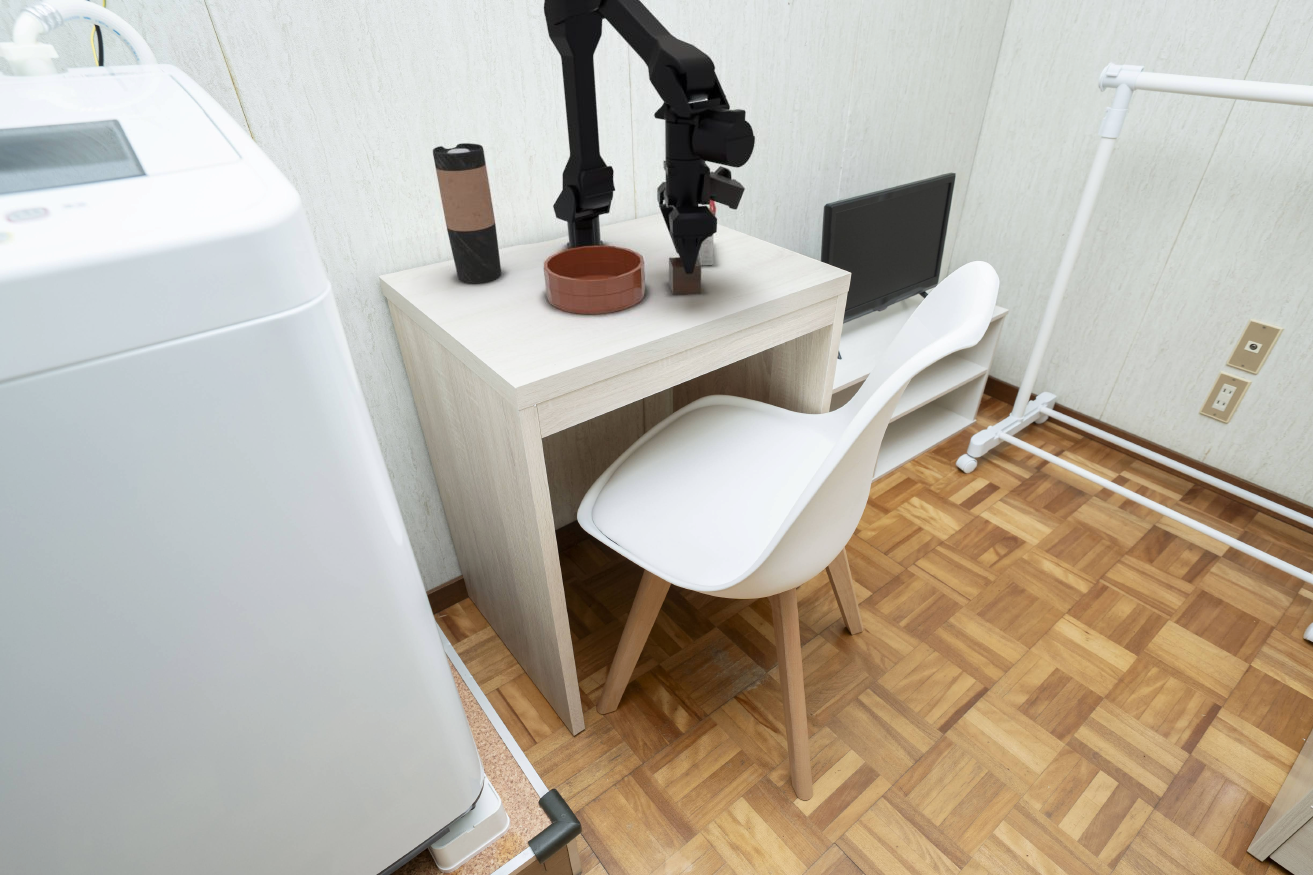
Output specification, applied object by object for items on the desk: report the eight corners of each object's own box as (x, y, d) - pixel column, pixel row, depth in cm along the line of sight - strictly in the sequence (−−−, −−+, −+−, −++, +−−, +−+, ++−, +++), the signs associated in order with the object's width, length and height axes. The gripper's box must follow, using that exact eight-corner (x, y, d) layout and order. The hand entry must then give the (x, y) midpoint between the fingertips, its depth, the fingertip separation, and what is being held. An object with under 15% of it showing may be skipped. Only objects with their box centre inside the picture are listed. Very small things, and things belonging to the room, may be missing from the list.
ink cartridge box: (699, 266, 114) (701, 207, 108) (696, 244, 123) (697, 189, 117) (714, 265, 114) (716, 207, 108) (709, 244, 123) (711, 189, 117)
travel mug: (492, 285, 108) (470, 154, 96) (448, 283, 109) (422, 153, 98) (510, 269, 114) (491, 143, 102) (468, 266, 115) (445, 142, 104)
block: (669, 284, 107) (668, 257, 104) (696, 282, 107) (696, 256, 105) (672, 295, 103) (672, 267, 101) (700, 293, 104) (701, 266, 101)
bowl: (548, 279, 110) (544, 248, 107) (639, 273, 111) (638, 243, 108) (546, 317, 97) (542, 283, 94) (649, 310, 99) (649, 277, 96)
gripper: (757, 168, 87) (749, 282, 96) (727, 141, 103) (723, 241, 111) (673, 172, 86) (673, 287, 95) (656, 143, 102) (657, 244, 110)
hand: (684, 263), depth 103 cm, fingers open, 9 cm apart
